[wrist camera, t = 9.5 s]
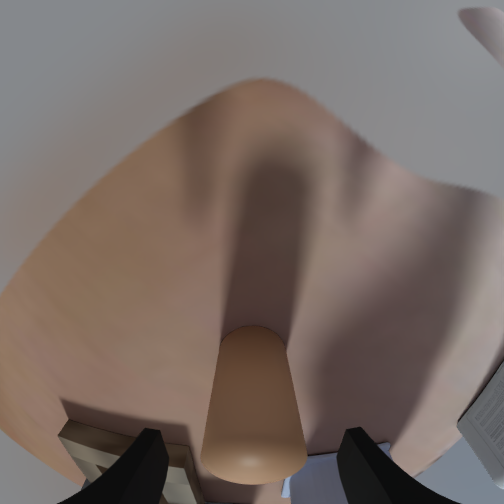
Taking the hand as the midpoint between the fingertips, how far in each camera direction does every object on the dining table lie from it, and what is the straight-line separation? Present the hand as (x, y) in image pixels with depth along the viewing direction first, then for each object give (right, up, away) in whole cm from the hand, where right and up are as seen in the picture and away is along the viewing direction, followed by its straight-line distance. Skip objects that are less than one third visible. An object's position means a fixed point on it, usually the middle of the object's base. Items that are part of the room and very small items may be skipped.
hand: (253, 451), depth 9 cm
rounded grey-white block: (+25, -7, +10) cm, 28 cm away
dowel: (0, +2, +7) cm, 7 cm away
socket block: (-11, -14, +11) cm, 21 cm away
